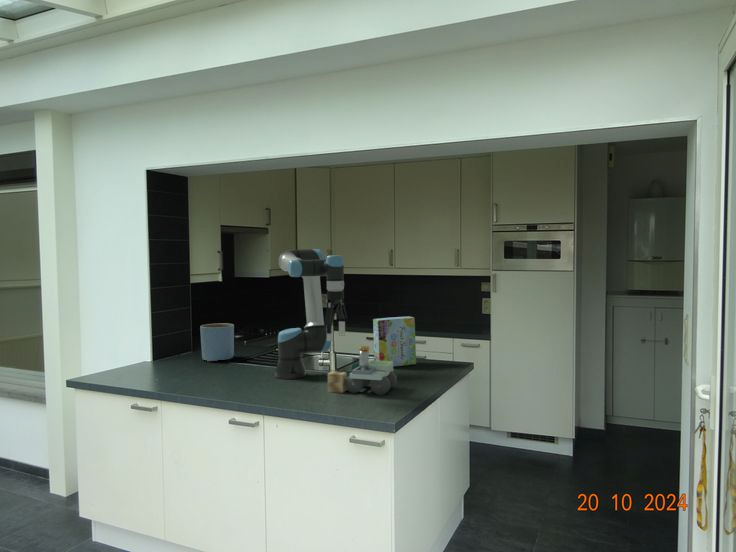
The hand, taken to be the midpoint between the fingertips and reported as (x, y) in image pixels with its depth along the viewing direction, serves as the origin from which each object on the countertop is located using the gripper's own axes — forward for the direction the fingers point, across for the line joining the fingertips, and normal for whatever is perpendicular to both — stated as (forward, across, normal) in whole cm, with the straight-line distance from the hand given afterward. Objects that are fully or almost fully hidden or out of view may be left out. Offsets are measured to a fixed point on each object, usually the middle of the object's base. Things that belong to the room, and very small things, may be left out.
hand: (336, 338), depth 241 cm
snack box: (+24, +58, -9) cm, 64 cm away
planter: (+25, +47, +96) cm, 110 cm away
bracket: (+24, +26, +4) cm, 36 cm away
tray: (+14, +8, -17) cm, 24 cm away
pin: (+14, 0, -13) cm, 19 cm away
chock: (+23, -1, 0) cm, 23 cm away
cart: (+23, +4, -15) cm, 28 cm away
